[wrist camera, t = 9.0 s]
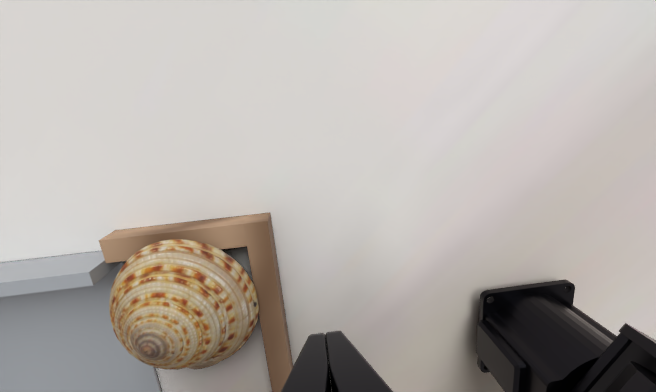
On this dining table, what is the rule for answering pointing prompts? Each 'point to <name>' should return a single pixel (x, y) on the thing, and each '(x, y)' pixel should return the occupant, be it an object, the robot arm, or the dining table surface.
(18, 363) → the tray
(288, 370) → the cradle
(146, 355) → the seashell
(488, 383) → the dining table surface
